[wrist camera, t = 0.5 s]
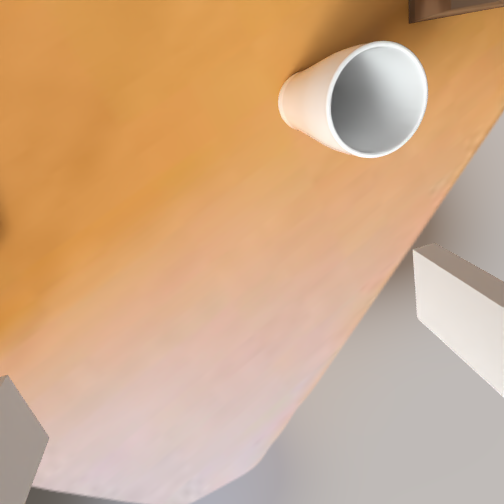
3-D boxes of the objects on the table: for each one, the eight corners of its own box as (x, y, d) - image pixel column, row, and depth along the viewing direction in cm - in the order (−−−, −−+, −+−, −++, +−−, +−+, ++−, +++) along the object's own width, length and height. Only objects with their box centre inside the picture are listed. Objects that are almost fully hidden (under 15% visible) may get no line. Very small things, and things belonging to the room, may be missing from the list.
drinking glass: (341, 66, 36) (443, 45, 22) (330, 140, 38) (416, 162, 25) (272, 58, 35) (335, 31, 21) (265, 135, 37) (317, 156, 23)
